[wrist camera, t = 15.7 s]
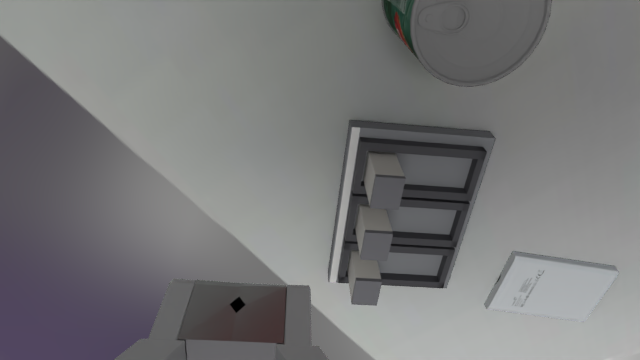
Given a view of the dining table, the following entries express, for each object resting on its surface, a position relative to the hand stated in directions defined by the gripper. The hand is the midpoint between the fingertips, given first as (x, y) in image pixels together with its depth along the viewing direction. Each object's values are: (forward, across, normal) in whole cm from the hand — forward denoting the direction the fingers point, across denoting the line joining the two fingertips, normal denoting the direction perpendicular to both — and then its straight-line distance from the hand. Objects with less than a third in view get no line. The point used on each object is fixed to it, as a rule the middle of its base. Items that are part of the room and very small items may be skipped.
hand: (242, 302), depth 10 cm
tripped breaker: (+27, -9, +21) cm, 36 cm away
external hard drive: (+30, -32, +25) cm, 50 cm away
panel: (+29, -13, +16) cm, 35 cm away
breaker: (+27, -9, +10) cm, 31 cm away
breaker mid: (+27, -9, +16) cm, 33 cm away
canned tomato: (+29, -11, -4) cm, 32 cm away
